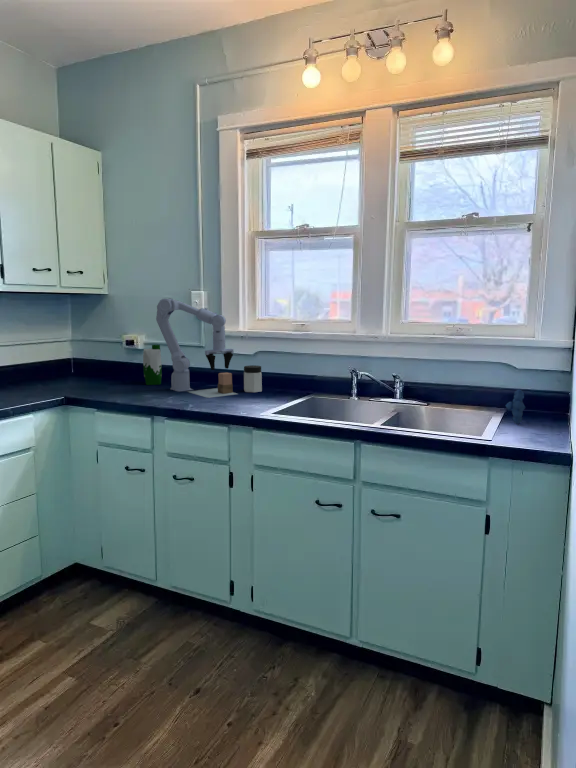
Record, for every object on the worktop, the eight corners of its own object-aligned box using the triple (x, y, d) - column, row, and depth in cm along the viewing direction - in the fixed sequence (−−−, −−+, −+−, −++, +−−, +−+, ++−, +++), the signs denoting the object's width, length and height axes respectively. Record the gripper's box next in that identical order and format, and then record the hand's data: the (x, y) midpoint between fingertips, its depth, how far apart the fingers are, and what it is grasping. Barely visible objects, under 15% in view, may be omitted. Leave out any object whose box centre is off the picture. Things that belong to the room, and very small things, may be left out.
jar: (243, 390, 259) (242, 365, 257) (259, 389, 261) (259, 365, 259) (245, 393, 250) (245, 367, 248) (262, 392, 252) (262, 367, 250)
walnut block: (217, 392, 251) (217, 383, 250) (227, 391, 254) (226, 382, 253) (223, 393, 247) (223, 385, 246) (232, 392, 250) (232, 384, 249)
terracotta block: (218, 383, 250) (218, 373, 249) (227, 382, 253) (226, 372, 252) (223, 385, 247) (223, 374, 246) (232, 384, 249) (231, 373, 248)
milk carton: (162, 384, 275) (161, 345, 272) (144, 385, 273) (142, 346, 270) (161, 382, 284) (159, 344, 281) (143, 382, 281) (142, 344, 278)
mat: (187, 392, 253) (187, 391, 253) (216, 388, 262) (216, 388, 262) (208, 398, 237) (208, 397, 237) (238, 394, 247) (238, 393, 247)
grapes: (504, 418, 199) (506, 386, 197) (524, 420, 196) (527, 387, 194) (503, 425, 188) (505, 391, 186) (524, 427, 185) (526, 392, 183)
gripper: (209, 341, 247) (210, 371, 249) (236, 340, 255) (237, 368, 258) (202, 340, 252) (203, 369, 254) (228, 339, 261) (229, 367, 263)
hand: (219, 369), depth 256 cm, fingers open, 7 cm apart
